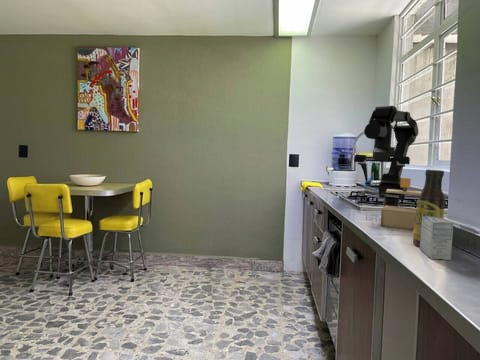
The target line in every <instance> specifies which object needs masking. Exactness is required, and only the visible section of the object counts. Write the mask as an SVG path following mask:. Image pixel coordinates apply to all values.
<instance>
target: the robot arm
mask: <svg viewBox="0 0 480 360" xmlns="http://www.w3.org/2000/svg"><path fill="white" fill-rule="evenodd" d="M394 122H395V123H394ZM402 122H403V123H405V122H406V123H407V124H404V125H403V124H399V125H398V123H402ZM393 123H394V125H393ZM363 131H364V132H363V133H364V136H365V137H366V138H367V139H371V140H374V146H373V151H372V156H368V155H367V154H355V155H354V156H353V157H354V158H353V160H354V161H353V162H354V163H357V165H360V167H361V170H362V171H363V175H364V181H365V182H366V183H368V180H369V178H368V177H369V176H368V163H367V162H376V163H377V162H379V163H390V166H389V168H388V172H387V173H383V174H382V176H381V179H380V181H379V183H378V197H379V198H383V205H382V208H383V207H384V206H385V205H386V206H397V207H400V201H401V200H403V201H404V200H405V199H406V194H400V193H388V192H386V190H387V189H394V190H403V187H400V184H401V178H402V177H401V175H402V172H403V169H404V167H406V165H410V162H411V158H410V157H409V156H408V155H407V154H408V150H409V148H410V146H411V145H412V144H414V143H415V141H416V139H417V137H418V136H419V127H418V123H417V121H416V120H415V119H414V118H413V117H411V113H410V112H409V111H403V110H398V108H397V106H395V105H380V106H376V107H375V108H374V109H373V111H372V114H371V116H370V118H369V120H368V124H367V125H366V126H365V128H364V130H363ZM393 133H394V137H395V139H396V140H395V141H396V145H395V146H392V137H393V135H392V134H393Z"/></svg>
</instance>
